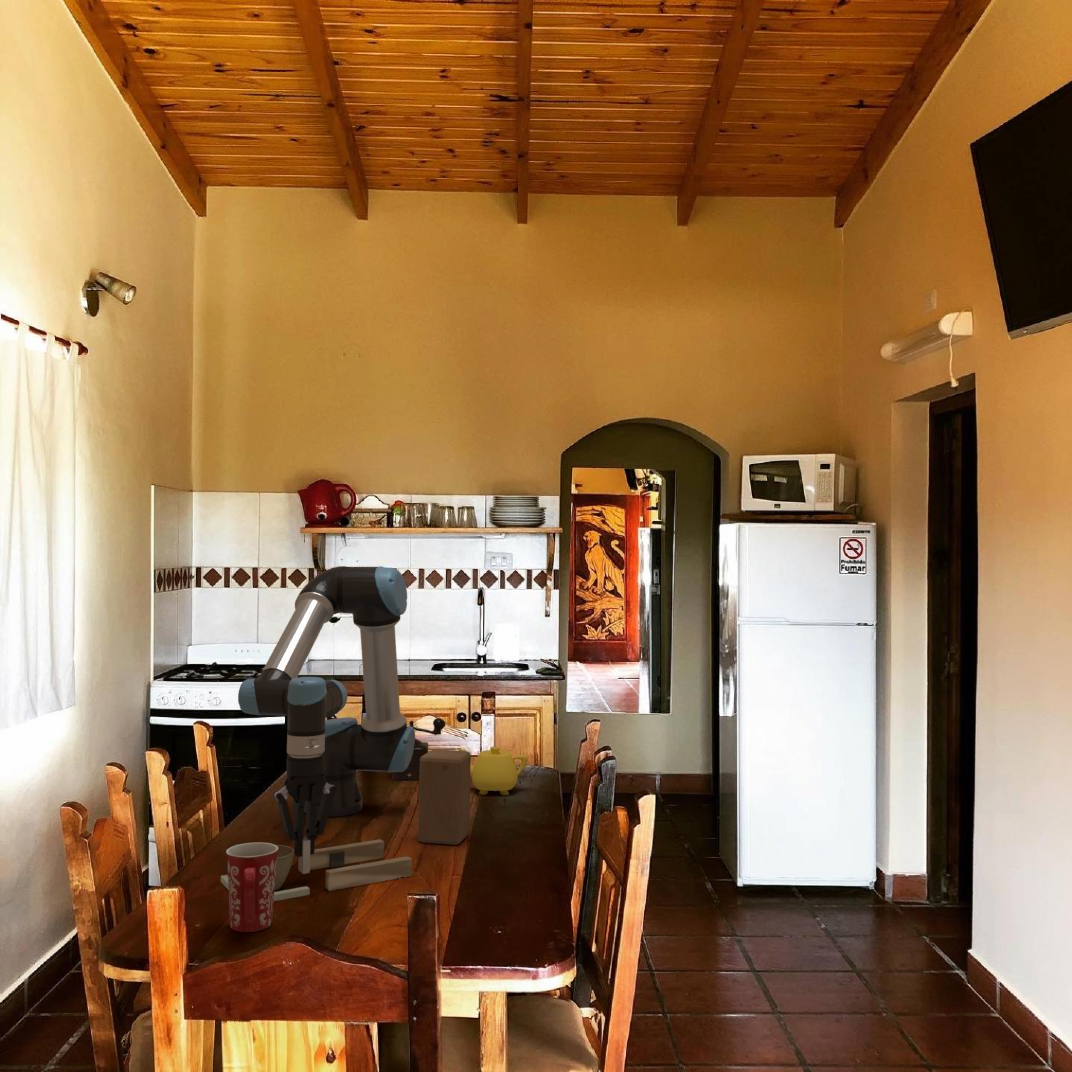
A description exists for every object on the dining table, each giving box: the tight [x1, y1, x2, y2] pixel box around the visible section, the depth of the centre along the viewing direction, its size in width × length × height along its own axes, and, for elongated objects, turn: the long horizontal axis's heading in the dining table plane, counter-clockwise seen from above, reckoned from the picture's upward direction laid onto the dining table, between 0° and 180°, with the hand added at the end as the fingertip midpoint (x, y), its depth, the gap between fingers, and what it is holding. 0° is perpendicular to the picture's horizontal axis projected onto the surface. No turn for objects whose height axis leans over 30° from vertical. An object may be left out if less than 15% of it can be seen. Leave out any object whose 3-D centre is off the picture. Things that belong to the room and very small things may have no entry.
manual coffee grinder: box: [391, 717, 446, 781], centre depth 292 cm, size 16×11×18 cm
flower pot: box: [274, 844, 295, 892], centre depth 194 cm, size 10×10×7 cm
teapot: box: [457, 746, 529, 796], centre depth 276 cm, size 13×20×12 cm
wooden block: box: [417, 748, 472, 846], centre depth 229 cm, size 10×10×20 cm
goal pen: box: [220, 874, 311, 902], centre depth 194 cm, size 16×13×1 cm
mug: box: [225, 841, 278, 933], centre depth 173 cm, size 13×9×14 cm
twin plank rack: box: [310, 839, 413, 892], centre depth 204 cm, size 16×18×4 cm
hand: (304, 871), depth 198 cm, fingers closed
